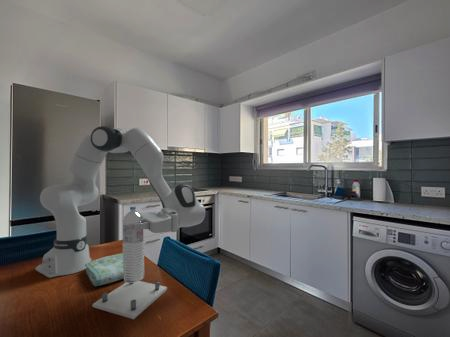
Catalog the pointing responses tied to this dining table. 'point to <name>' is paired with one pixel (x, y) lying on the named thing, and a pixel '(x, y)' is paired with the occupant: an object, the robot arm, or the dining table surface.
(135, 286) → the bottle stand
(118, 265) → the towel
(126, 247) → the water bottle
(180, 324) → the dining table surface
